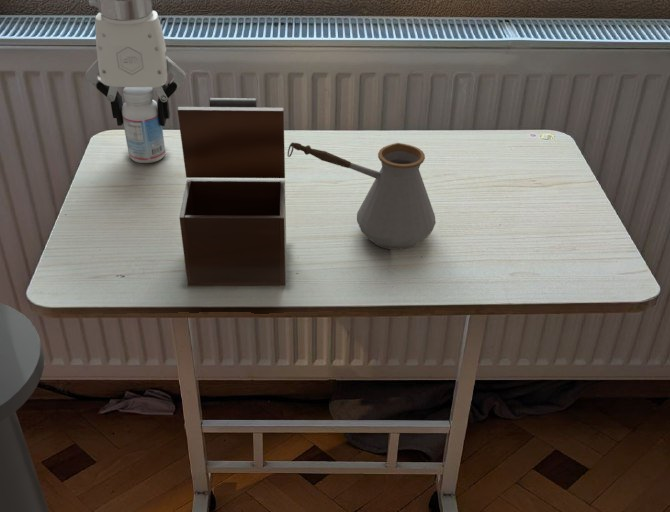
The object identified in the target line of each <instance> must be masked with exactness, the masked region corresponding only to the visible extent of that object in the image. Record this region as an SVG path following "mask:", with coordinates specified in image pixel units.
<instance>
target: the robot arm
mask: <svg viewBox="0 0 670 512" xmlns="http://www.w3.org/2000/svg"><path fill="white" fill-rule="evenodd" d="M88 5H89V7H94V8H97V10H98V13H97V14H96V16H95V23H94V24H95V25H94V26H95V27H94V28H95V30H94V31H95V45H96V46H95V48H96V57H97V58H96V60H95V61H93V63H92V64H91V66H89V68H87V70H86V71H85V74H84V79H85V80H87V81H88V82H89V83H90V84H91V85H93V86H94V87H95V88H96V89H97V90H98V91H99V93H101V94H103V96H105V97H106V100H107V101H109V103H110V106H111V113H112V118H113V119H116V124H117V127H122V126H124V124H123V118H122V111H121V110H122V106H123V104H124V103H123V95H121V93H120V92H119V88H125V87H152V88H153V90H154V91H155V93H156V94H157V97H158V98H157V101H156V102H157V106H158V114H159V122H160V125H161V126H162V127H165V126H166V123H167V120H170V118H171V117H170V115H171V114H170V113H171V112H170V103H169V98H170V97H171V96H172V95H173V94H174V93H175V92H176V91H177V89H178V88H179V87H180V86H181V85H182V84H183V83H184V82H185V81H186V79H187V72H186V71H185V70H184V69H183V68H181V67H180V66H179V65H178V64H177V63H176V62H174V61H173V60H172V59H171V58H170V57H169V56H168V51H167V46H166V42H165V41H166V40H165V37H164V31H163V28H162V24H161V21H160V17H159V14H158V12H157V11H156V10H153V3H152V0H88ZM98 73H99V75H98ZM169 73H170V74H171V75H172V76H173V78H172V79H171V80H170V81H169V82H168V83H167V81H168V75H169Z"/></svg>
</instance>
